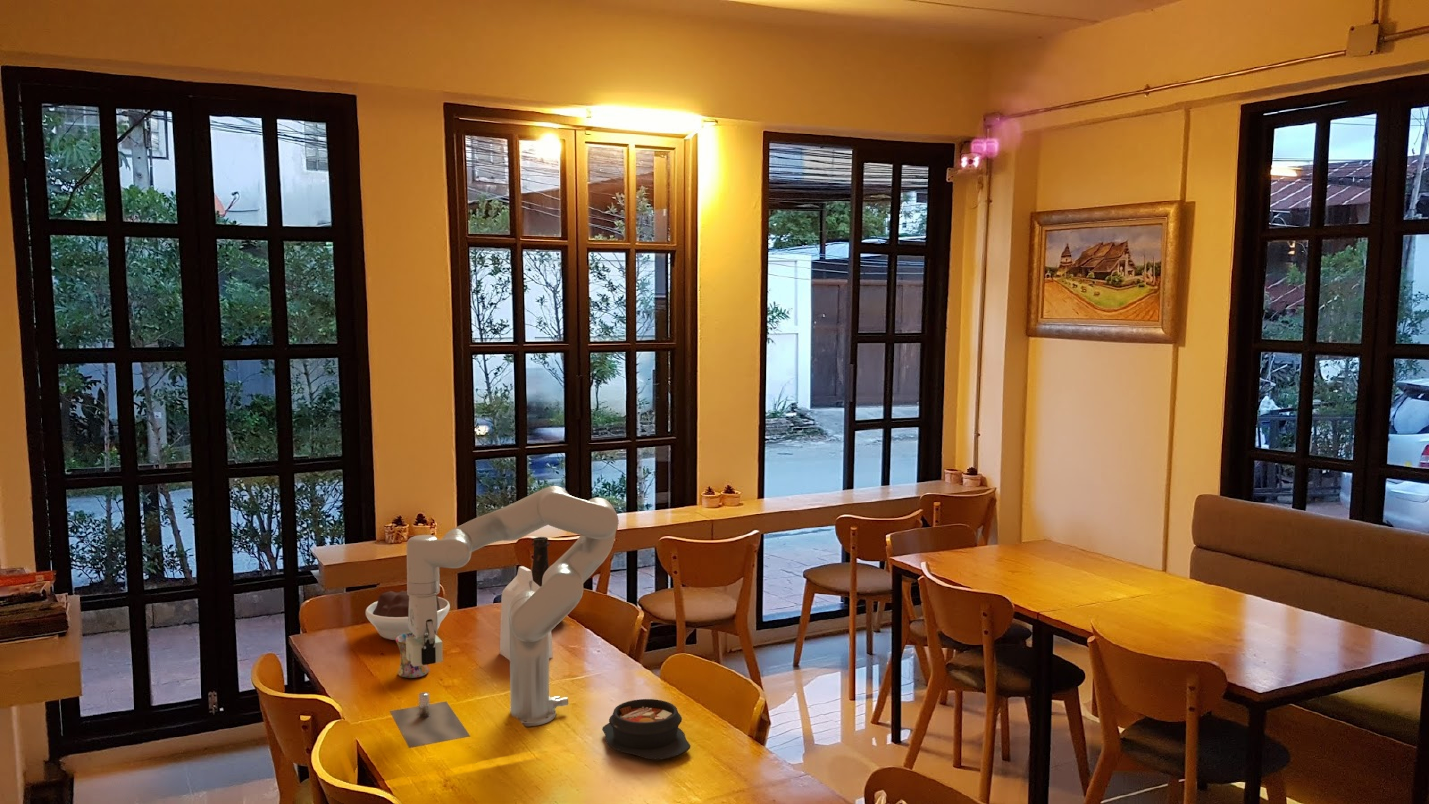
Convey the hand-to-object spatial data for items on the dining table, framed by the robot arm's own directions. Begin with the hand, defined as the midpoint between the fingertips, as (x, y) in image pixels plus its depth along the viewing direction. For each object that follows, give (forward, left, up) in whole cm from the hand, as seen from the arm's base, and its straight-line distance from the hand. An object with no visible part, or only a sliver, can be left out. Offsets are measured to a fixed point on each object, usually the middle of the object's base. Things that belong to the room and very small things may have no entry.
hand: (424, 658), depth 249 cm
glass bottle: (-51, -67, -17) cm, 86 cm away
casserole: (-43, +34, -17) cm, 58 cm away
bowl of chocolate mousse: (-10, -72, -17) cm, 75 cm away
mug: (-4, -39, -17) cm, 42 cm away
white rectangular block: (0, 0, 0) cm, 0 cm away
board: (0, +2, -17) cm, 17 cm away
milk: (-37, -39, -17) cm, 56 cm away
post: (0, -4, -15) cm, 16 cm away
